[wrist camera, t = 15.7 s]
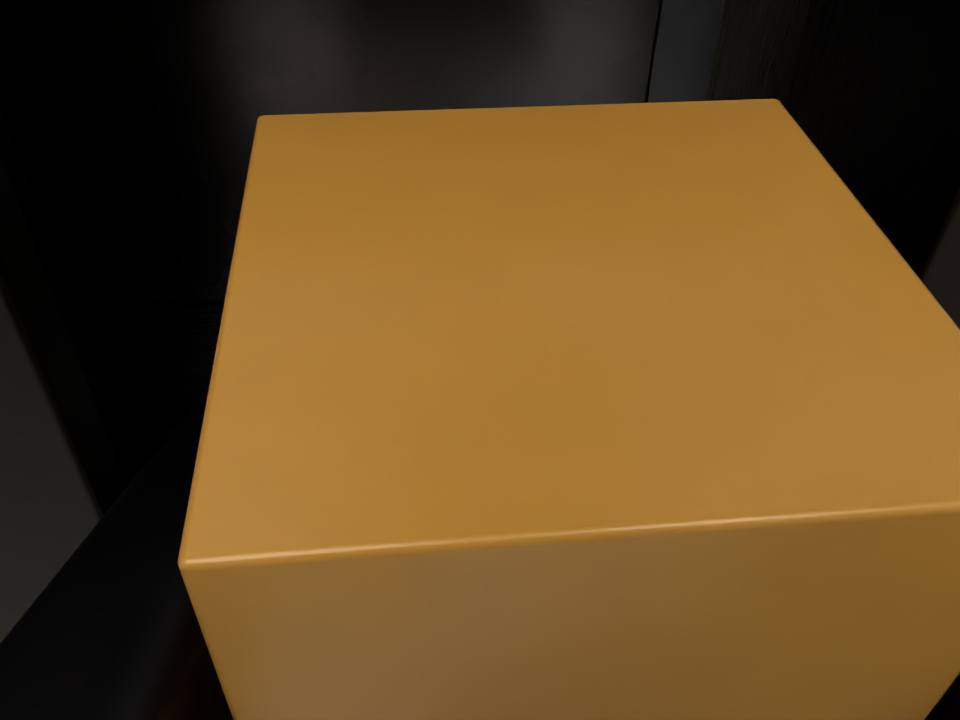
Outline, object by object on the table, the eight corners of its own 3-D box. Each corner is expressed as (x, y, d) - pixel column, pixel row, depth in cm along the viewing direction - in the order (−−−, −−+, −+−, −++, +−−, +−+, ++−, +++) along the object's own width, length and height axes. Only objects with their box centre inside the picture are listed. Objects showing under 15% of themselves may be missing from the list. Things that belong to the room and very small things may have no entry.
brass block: (779, 95, 8) (1096, 495, 4) (689, 446, 10) (839, 841, 7) (257, 112, 7) (171, 567, 4) (315, 471, 10) (295, 901, 7)
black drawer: (1270, -399, 11) (2025, -373, 6) (950, 292, 18) (1174, 564, 13) (-297, -433, 10) (-1030, -433, 4) (29, 339, 17) (-112, 671, 12)
